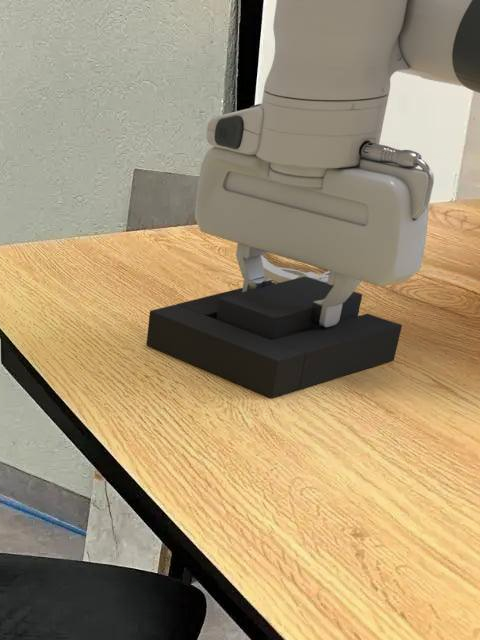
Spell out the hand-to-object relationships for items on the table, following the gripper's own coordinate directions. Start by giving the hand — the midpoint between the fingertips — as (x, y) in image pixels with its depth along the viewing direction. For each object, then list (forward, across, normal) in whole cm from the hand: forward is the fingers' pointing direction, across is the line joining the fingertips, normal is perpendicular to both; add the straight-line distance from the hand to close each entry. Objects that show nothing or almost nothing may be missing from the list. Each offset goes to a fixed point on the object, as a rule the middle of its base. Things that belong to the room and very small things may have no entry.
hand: (287, 311), depth 94 cm
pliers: (+3, +10, -16) cm, 19 cm away
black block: (+2, 0, 0) cm, 2 cm away
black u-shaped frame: (+3, 0, +2) cm, 4 cm away
